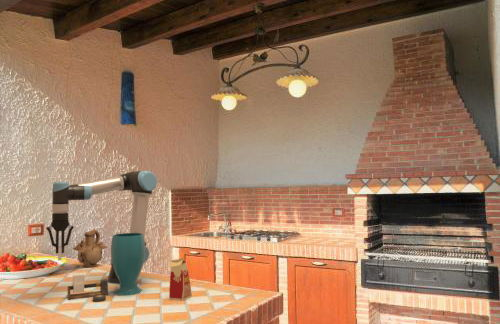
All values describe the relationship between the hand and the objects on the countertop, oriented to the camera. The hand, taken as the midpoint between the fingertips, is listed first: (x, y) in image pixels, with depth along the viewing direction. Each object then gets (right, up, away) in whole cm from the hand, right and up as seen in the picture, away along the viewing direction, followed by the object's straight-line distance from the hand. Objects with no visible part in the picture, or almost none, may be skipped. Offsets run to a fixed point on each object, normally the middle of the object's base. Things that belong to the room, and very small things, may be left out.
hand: (59, 259), depth 223 cm
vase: (+31, -20, +12) cm, 39 cm away
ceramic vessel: (-16, -24, +85) cm, 90 cm away
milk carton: (+60, -19, -1) cm, 63 cm away
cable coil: (+21, -19, -4) cm, 29 cm away
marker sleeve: (+8, -17, +3) cm, 19 cm away
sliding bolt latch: (+12, -20, +5) cm, 24 cm away
